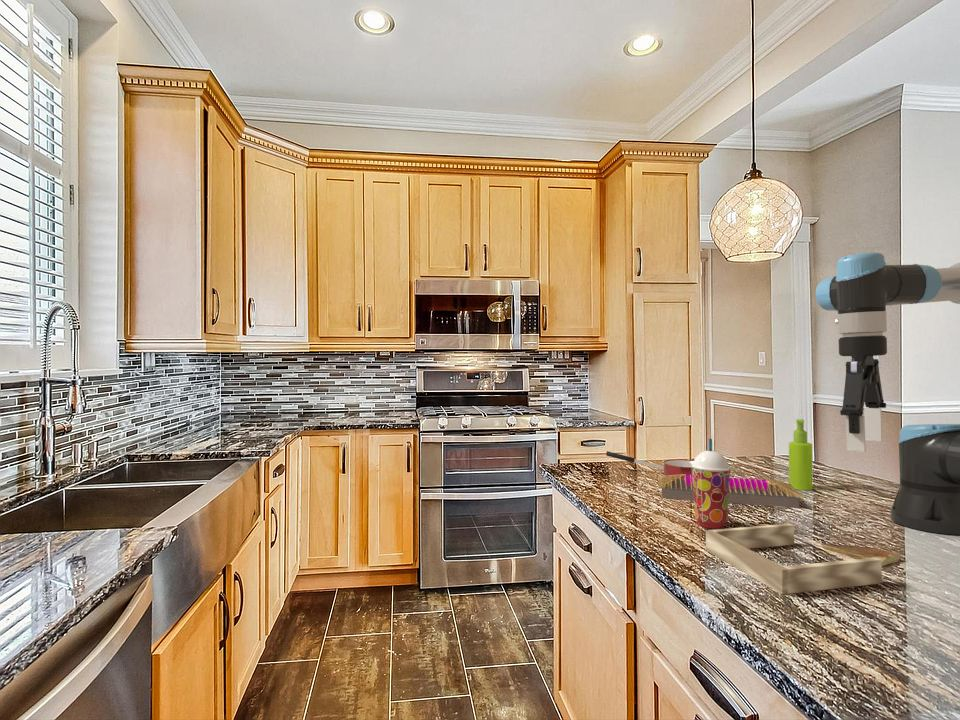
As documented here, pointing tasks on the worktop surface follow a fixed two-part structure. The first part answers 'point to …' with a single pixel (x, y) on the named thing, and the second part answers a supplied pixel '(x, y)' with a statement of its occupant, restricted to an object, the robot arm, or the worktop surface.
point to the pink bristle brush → (736, 491)
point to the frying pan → (669, 466)
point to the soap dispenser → (800, 459)
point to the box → (787, 579)
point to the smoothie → (711, 488)
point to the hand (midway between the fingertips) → (865, 445)
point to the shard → (863, 552)
